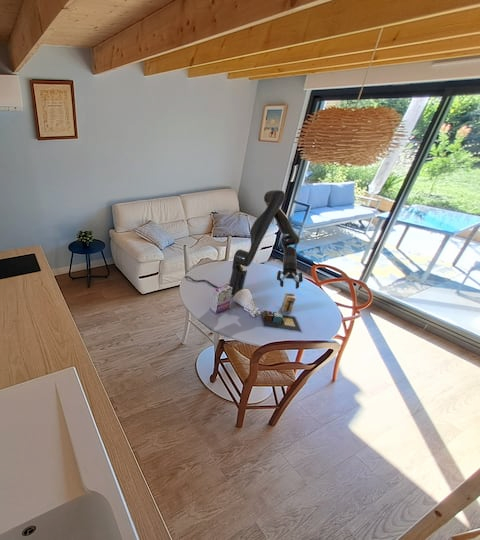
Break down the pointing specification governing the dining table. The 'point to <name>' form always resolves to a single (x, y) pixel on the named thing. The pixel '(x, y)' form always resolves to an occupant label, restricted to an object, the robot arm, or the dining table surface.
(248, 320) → the dining table surface
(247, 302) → the rocket engine
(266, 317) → the letter block
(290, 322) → the word mat
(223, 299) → the candy bar box
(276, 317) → the letter block
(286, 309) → the tan rectangular block
